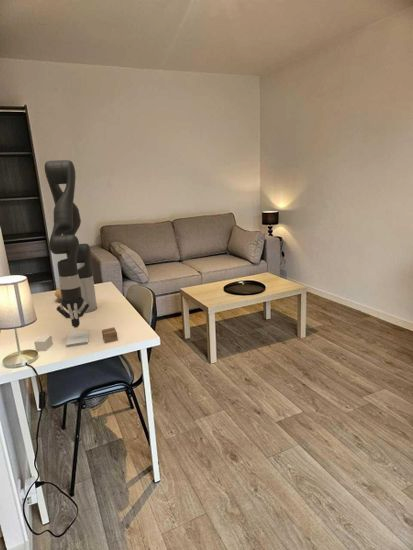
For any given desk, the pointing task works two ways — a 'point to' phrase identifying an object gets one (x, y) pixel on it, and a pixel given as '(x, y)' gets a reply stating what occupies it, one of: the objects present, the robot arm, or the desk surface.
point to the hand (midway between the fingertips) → (76, 326)
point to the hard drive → (77, 338)
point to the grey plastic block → (43, 342)
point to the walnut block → (109, 335)
